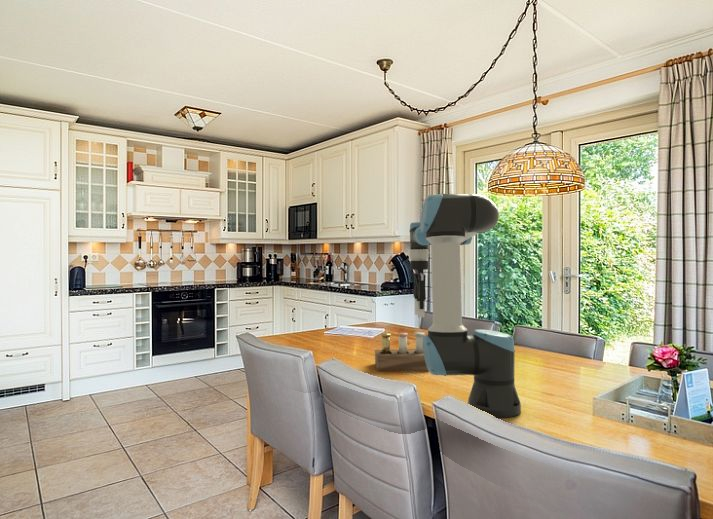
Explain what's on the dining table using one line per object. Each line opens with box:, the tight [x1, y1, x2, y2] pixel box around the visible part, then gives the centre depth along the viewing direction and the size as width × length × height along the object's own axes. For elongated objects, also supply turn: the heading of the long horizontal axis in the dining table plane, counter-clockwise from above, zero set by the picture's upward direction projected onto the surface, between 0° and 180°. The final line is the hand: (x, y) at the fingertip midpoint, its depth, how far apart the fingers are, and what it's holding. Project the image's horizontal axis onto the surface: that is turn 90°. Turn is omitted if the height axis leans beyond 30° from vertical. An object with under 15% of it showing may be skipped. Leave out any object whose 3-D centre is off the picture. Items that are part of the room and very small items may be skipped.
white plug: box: [397, 332, 409, 354], centre depth 187 cm, size 4×4×9 cm
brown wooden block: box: [374, 348, 429, 372], centre depth 187 cm, size 12×22×6 cm, turn 92°
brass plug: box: [380, 332, 392, 354], centre depth 187 cm, size 4×4×9 cm
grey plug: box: [414, 331, 426, 353], centre depth 187 cm, size 4×4×9 cm
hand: (419, 315), depth 187 cm, fingers open, 7 cm apart
